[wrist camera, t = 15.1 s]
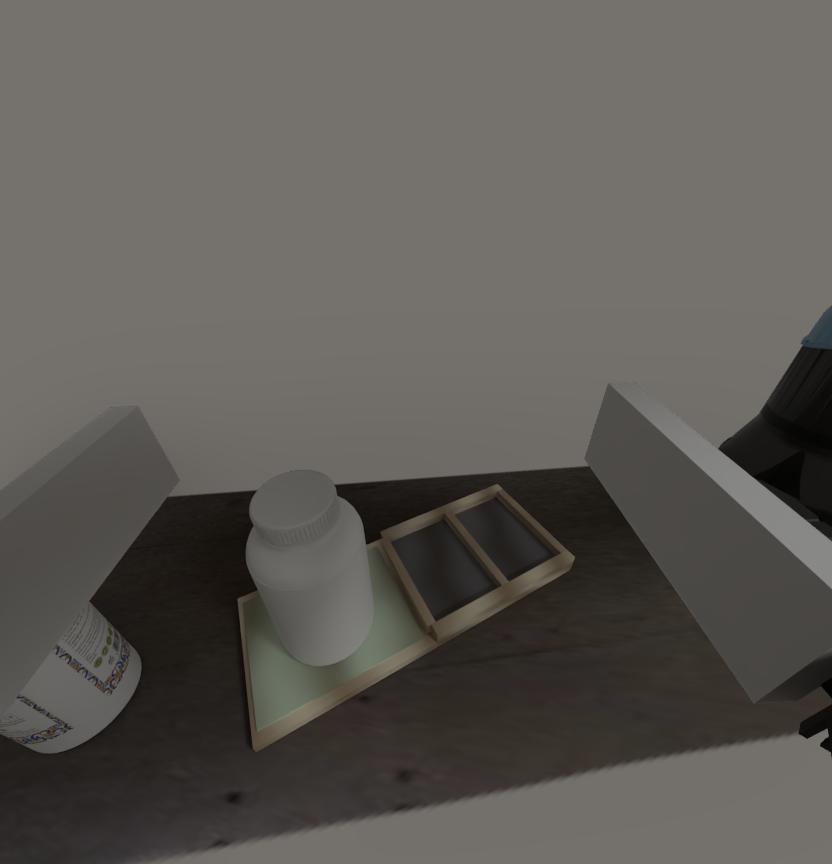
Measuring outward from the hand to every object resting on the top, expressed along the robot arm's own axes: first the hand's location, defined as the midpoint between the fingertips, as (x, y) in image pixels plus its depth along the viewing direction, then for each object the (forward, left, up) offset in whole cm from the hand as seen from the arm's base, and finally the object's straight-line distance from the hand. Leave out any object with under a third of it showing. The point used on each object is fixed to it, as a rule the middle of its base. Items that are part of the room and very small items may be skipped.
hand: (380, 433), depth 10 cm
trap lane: (+2, -11, -26) cm, 28 cm away
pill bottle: (+8, -6, -25) cm, 27 cm away
